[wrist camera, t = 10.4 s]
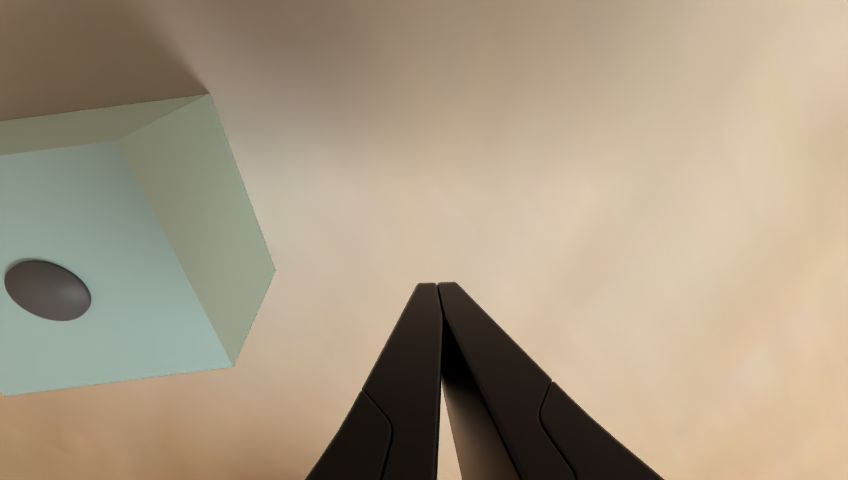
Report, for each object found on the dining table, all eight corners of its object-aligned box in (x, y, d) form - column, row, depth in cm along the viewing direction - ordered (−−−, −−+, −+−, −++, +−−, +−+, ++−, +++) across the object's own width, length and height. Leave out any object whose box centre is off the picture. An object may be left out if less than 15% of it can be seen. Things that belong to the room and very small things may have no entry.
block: (276, 267, 14) (231, 369, 10) (109, 289, 14) (1, 399, 10) (212, 92, 11) (113, 142, 7) (-1, 120, 11) (-215, 184, 7)
